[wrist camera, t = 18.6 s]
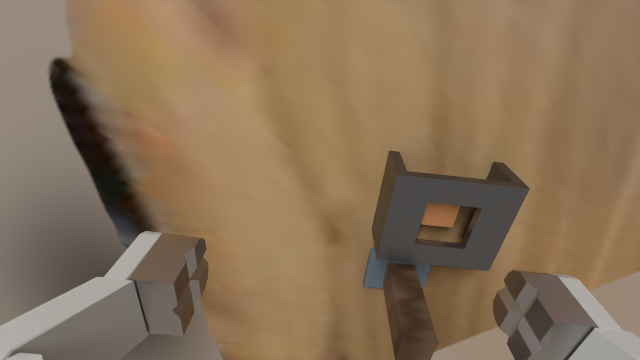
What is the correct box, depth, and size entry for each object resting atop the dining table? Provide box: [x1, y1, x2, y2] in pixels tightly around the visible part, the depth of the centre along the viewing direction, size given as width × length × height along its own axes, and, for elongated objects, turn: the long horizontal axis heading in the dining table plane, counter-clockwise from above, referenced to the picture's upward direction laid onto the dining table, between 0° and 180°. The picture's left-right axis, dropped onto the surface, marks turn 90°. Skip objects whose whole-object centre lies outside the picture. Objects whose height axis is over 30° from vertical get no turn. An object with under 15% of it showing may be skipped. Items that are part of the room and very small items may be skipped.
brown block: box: [383, 262, 438, 360], centre depth 42 cm, size 4×4×12 cm
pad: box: [363, 248, 432, 290], centre depth 47 cm, size 9×7×1 cm
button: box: [421, 202, 461, 228], centre depth 40 cm, size 5×5×2 cm
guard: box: [372, 151, 530, 271], centre depth 39 cm, size 14×12×6 cm
